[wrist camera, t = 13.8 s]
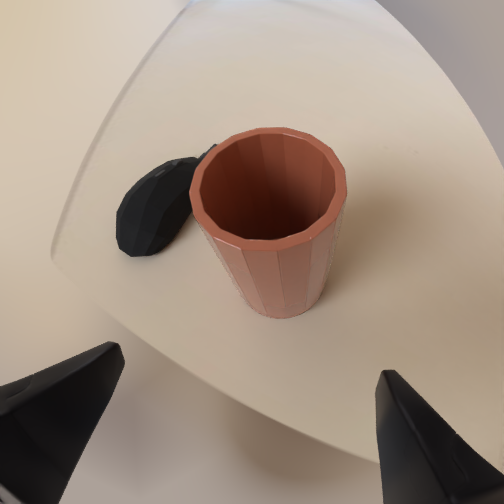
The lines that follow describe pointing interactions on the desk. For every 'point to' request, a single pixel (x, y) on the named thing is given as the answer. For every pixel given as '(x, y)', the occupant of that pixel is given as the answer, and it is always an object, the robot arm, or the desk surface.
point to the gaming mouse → (156, 207)
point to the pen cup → (272, 215)
